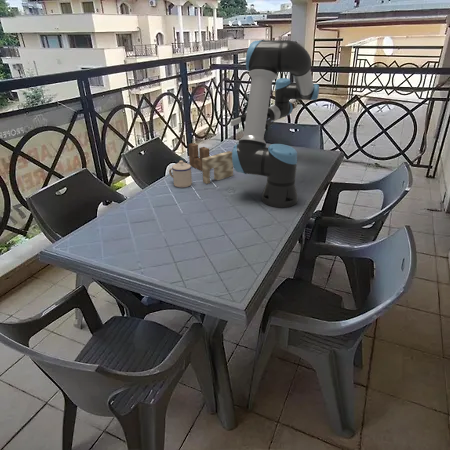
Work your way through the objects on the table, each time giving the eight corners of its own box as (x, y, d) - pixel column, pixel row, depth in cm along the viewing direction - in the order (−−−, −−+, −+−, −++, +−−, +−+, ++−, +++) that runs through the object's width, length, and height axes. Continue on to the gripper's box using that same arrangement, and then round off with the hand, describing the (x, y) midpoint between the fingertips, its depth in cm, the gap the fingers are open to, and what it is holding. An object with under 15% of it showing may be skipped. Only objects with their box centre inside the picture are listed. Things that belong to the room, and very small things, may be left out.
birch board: (229, 173, 178) (229, 151, 172) (233, 175, 176) (233, 152, 170) (203, 182, 168) (202, 158, 163) (206, 184, 166) (206, 159, 161)
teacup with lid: (196, 182, 168) (194, 159, 162) (185, 189, 161) (183, 165, 155) (175, 178, 173) (173, 156, 167) (164, 184, 166) (162, 161, 160)
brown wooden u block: (209, 171, 182) (209, 148, 176) (205, 172, 180) (204, 149, 175) (194, 164, 191) (192, 143, 186) (189, 165, 190) (188, 144, 184)
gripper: (288, 127, 174) (259, 140, 163) (252, 117, 190) (223, 128, 178) (289, 112, 170) (260, 124, 159) (251, 103, 185) (222, 113, 174)
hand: (240, 126), depth 169 cm, fingers open, 13 cm apart
